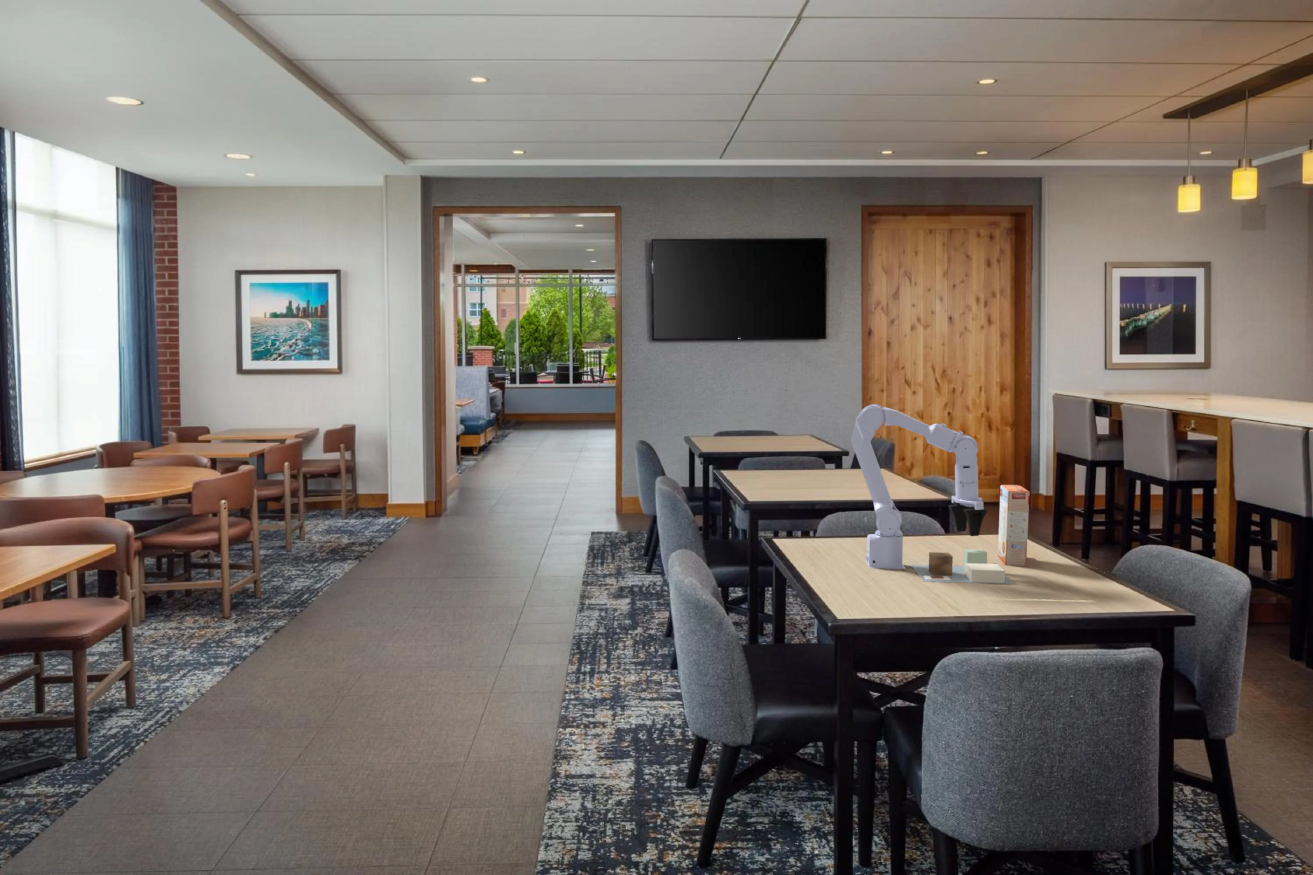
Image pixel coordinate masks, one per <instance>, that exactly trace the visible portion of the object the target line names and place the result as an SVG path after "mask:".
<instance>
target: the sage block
mask: <svg viewBox="0 0 1313 875" xmlns="http://www.w3.org/2000/svg"><path fill="white" fill-rule="evenodd" d="M962 550H963V553H962V554H963V556H962V557H963V558H962V566H963V568H964V569H965V563H974V564H988V552H987V551H985V550H984V548H963V549H962Z"/></svg>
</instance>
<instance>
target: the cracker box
mask: <svg viewBox="0 0 1313 875" xmlns="http://www.w3.org/2000/svg"><path fill="white" fill-rule="evenodd" d="M999 487H1000V490H999V492H1000V493H999V517H998V518H999V519H998V539H997V540H998V542H997V544H998V545H997V557H998V558H999V560H1000V561H1001V562H1002V563H1003V565H1004V566H1012V567H1016V566H1017V567H1027V559H1028V558H1027V556H1028V555H1027V554H1028V534H1029V512H1030V509H1029V508H1030V491H1029V490H1027V489H1026V488H1025V487H1023V486H1021V485H1019V484H1001V485H1000V486H999Z"/></svg>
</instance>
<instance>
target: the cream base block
mask: <svg viewBox="0 0 1313 875" xmlns="http://www.w3.org/2000/svg"><path fill="white" fill-rule="evenodd" d="M965 575H966V576H967V577H968V578H969V579H970V580H971V581H972V582H1005V576H1006V570H1005V569H1003V568H1002V567H1001V566H1000V565H999V564H997V563H987V564H974V563H965Z"/></svg>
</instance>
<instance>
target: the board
mask: <svg viewBox="0 0 1313 875" xmlns="http://www.w3.org/2000/svg"><path fill="white" fill-rule="evenodd" d="M910 566H911V568H913V570H914V571H915V573H916V574H917V576H918V577H919V578H920V579H921V580H922V582H924V583H956V584H957V583H961V584H962V583H963V584H964V583H967V584H1007V585H1009V584H1010V585H1012V584H1013V585H1014V582H1013V581H1012V580H1010V579H1009V578H1008V577H1007V576H1006V575H1005V582H972V581H971V580H970V579H969V578H968V577H967V576H966V575H965V569H964V568H963V565H952V576H942V575H932V574H931V573H930V572H929V564H928V565H927V564H910Z"/></svg>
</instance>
